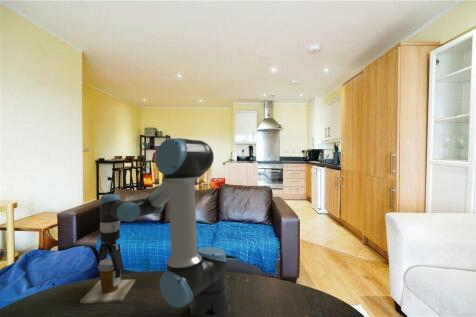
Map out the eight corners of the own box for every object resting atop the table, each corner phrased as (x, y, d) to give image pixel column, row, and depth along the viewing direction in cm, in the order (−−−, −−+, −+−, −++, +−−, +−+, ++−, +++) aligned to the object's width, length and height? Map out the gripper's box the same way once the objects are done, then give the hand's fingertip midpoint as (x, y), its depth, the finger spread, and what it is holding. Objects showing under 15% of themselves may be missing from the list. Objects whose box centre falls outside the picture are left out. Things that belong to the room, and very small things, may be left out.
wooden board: (135, 281, 114) (135, 279, 114) (121, 301, 98) (121, 299, 98) (99, 282, 112) (99, 280, 112) (79, 303, 97) (79, 300, 97)
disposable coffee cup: (126, 284, 109) (126, 257, 109) (113, 296, 100) (114, 267, 100) (106, 283, 110) (107, 256, 110) (92, 294, 101) (92, 265, 101)
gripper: (132, 234, 100) (132, 285, 100) (107, 223, 116) (107, 267, 116) (113, 239, 94) (113, 293, 94) (89, 226, 110) (89, 273, 110)
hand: (109, 279), depth 105 cm, fingers open, 13 cm apart
